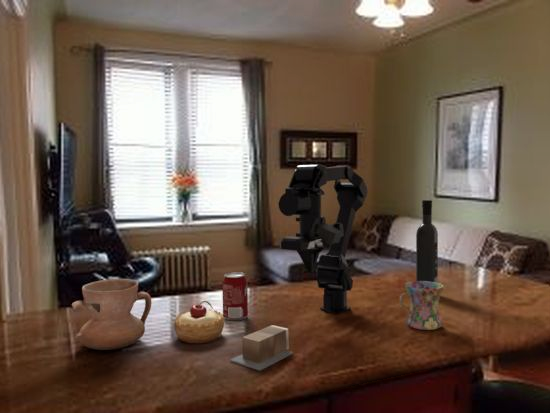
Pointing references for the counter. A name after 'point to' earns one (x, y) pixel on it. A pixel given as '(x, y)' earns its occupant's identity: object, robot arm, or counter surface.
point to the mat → (263, 364)
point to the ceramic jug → (112, 314)
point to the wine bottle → (427, 247)
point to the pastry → (199, 324)
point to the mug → (423, 304)
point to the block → (265, 343)
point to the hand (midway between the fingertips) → (310, 273)
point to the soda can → (235, 296)
